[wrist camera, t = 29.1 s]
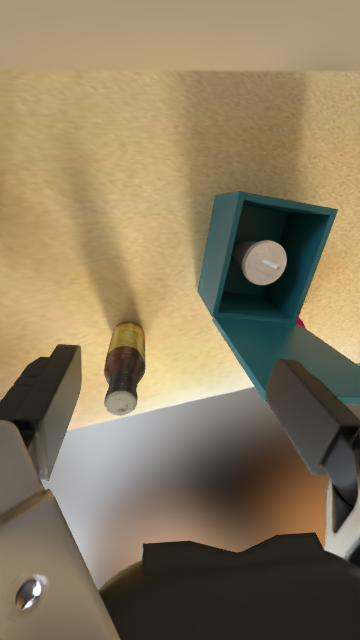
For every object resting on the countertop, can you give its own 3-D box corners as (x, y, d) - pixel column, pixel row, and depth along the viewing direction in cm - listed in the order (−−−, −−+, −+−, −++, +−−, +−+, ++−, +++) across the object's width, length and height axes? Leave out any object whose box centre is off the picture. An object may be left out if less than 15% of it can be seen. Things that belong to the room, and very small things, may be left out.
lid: (266, 393, 20) (249, 445, 22) (406, 398, 22) (380, 445, 24) (213, 315, 36) (206, 349, 38) (298, 323, 38) (287, 355, 40)
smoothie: (247, 225, 42) (289, 234, 30) (266, 254, 45) (313, 273, 32) (217, 251, 44) (246, 269, 31) (238, 277, 46) (272, 304, 33)
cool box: (215, 194, 41) (239, 191, 30) (291, 208, 43) (338, 209, 32) (197, 291, 47) (212, 316, 37) (263, 298, 49) (295, 324, 39)
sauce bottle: (135, 352, 51) (128, 432, 33) (107, 339, 49) (84, 416, 31) (151, 327, 49) (154, 398, 31) (123, 313, 47) (108, 379, 29)
